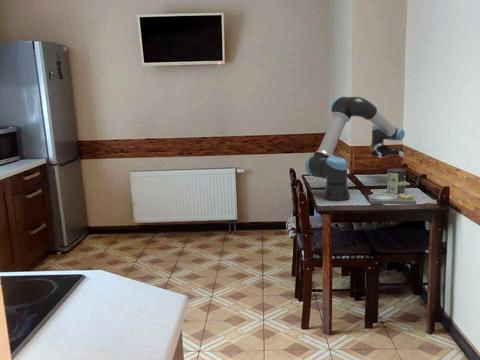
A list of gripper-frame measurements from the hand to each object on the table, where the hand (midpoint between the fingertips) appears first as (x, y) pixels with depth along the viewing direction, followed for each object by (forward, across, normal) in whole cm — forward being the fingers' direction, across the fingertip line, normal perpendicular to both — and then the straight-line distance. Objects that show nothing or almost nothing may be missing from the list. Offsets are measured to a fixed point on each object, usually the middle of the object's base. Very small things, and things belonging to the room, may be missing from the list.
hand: (391, 155), depth 281 cm
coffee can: (+10, 0, -21) cm, 23 cm away
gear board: (+27, +8, -21) cm, 35 cm away
